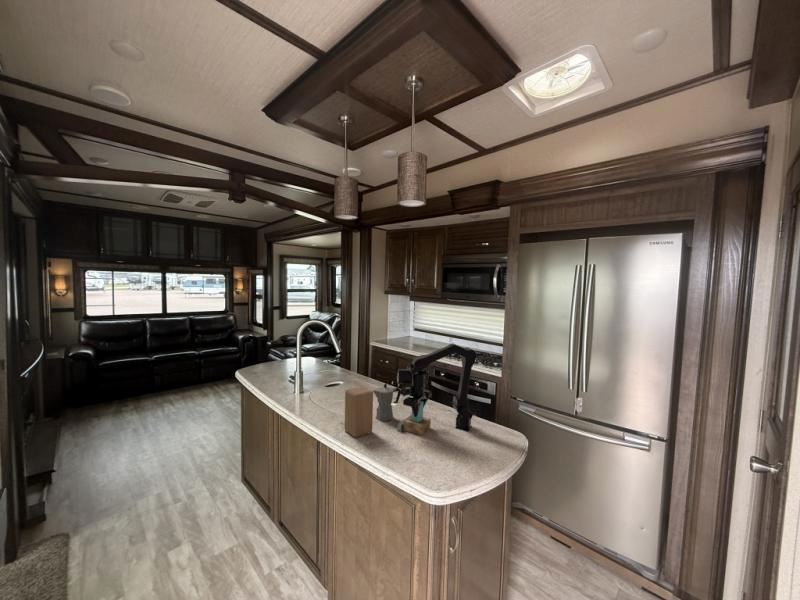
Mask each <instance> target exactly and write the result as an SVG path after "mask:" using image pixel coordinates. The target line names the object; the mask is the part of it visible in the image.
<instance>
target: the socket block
mask: <svg viewBox="0 0 800 600" xmlns="http://www.w3.org/2000/svg"><path fill="white" fill-rule="evenodd" d="M409 416H410V415H409ZM409 416H408V417H409ZM406 418H407V417H406ZM406 418H405V419H406ZM403 420H404V419H403ZM431 422H432V421H431V418H429V417H424V416H423V420H422V421H421V422H415V421H412V416H410V417H409V418H407V419H406V420H404V428H403V431H405V432H408V433H412V434H416V435H418V436H422V435H424V434H426V433H427V432H428V431H429V430H430V429H431Z"/></svg>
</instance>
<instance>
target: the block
mask: <svg viewBox="0 0 800 600" xmlns="http://www.w3.org/2000/svg"><path fill="white" fill-rule="evenodd" d="M373 391H374V390H372V389H369V388H367V387H364V386H362V385H361V386H357V387H351V388H347V389H345V392H344V393H345V394H344V395H345V396H344V431H345V432H347V433H348V434H349V435H351V436H352V437H354V438H358V437H361V436H365V435H366V434H370V433H372V432H373V418H374V417H373V413H374V411H373V409H374V392H373Z"/></svg>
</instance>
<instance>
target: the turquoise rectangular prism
mask: <svg viewBox="0 0 800 600" xmlns="http://www.w3.org/2000/svg"><path fill="white" fill-rule="evenodd" d="M419 404H421V405H420V408H419V411H418V414H417V417H415V416H414V414H413V410H412V409H411V415H412V421H415V422H421V421H422V420H423V417H424V408H423V401H419Z"/></svg>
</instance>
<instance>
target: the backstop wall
mask: <svg viewBox="0 0 800 600" xmlns="http://www.w3.org/2000/svg"><path fill="white" fill-rule="evenodd" d="M410 416H412V414H410V415H409V416H408V417H406V418H404V419H403V420H401V421H400V422H398V423H397V432H400V433H402V432H403V431H404V430H403V428H404V420H406V419H407V418H409V417H410Z"/></svg>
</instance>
